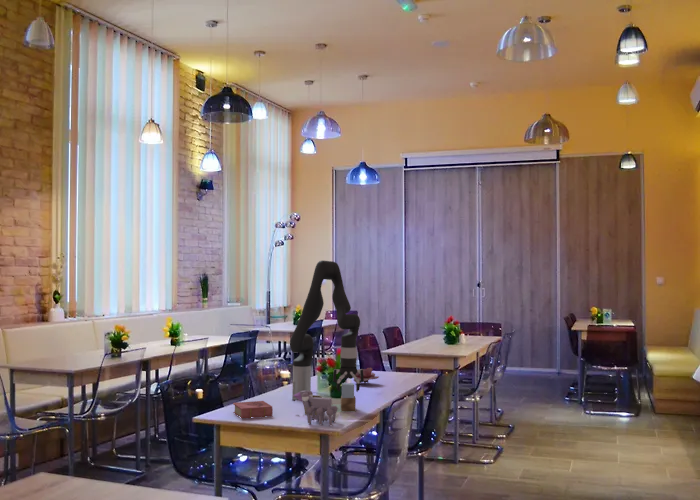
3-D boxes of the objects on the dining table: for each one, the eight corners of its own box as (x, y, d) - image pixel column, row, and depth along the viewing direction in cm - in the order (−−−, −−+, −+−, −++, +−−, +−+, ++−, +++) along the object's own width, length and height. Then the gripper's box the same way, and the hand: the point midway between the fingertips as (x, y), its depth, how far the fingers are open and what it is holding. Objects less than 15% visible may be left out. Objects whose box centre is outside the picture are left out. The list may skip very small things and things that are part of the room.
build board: (330, 414, 329) (330, 411, 329) (328, 406, 347) (329, 404, 347) (356, 413, 330) (356, 411, 330) (353, 406, 348) (353, 404, 348)
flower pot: (314, 419, 318) (314, 399, 318) (297, 416, 323) (297, 397, 323) (326, 415, 326) (326, 396, 326) (309, 413, 331) (309, 394, 331)
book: (241, 420, 316) (241, 408, 316) (233, 413, 330) (233, 402, 330) (272, 417, 322) (272, 406, 322) (263, 411, 336) (263, 400, 336)
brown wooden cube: (341, 411, 331) (341, 398, 331) (340, 408, 338) (340, 395, 338) (355, 411, 331) (355, 398, 332) (354, 408, 338) (354, 395, 338)
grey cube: (342, 398, 332) (342, 385, 332) (341, 395, 337) (341, 383, 337) (354, 398, 332) (354, 385, 332) (353, 395, 338) (353, 383, 338)
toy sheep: (287, 423, 309) (288, 391, 310) (296, 419, 320) (297, 388, 321) (331, 426, 304) (332, 394, 305) (339, 422, 314) (339, 391, 315)
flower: (384, 379, 416) (379, 362, 417) (371, 385, 404) (366, 368, 405) (363, 383, 424) (358, 367, 425) (350, 390, 412) (345, 374, 413)
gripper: (333, 357, 331) (333, 392, 331) (364, 357, 332) (363, 392, 331) (333, 355, 338) (332, 390, 338) (363, 355, 339) (362, 390, 339)
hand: (348, 391), depth 335 cm, fingers open, 8 cm apart
